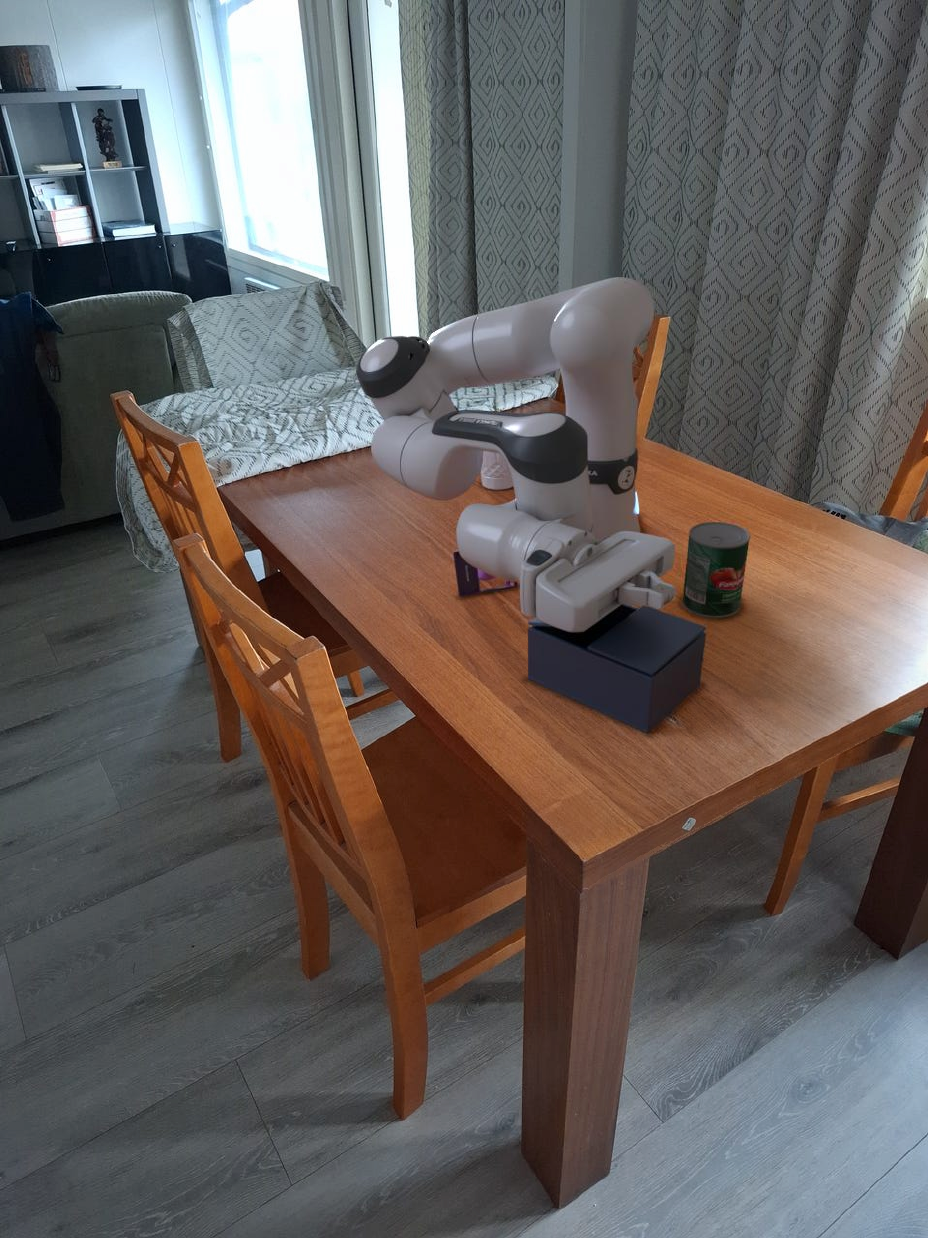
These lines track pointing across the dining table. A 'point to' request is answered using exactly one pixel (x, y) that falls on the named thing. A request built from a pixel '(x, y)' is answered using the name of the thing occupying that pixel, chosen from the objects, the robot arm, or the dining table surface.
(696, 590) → the canned tomato
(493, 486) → the white cup
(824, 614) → the dining table surface
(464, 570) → the game card
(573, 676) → the carton
